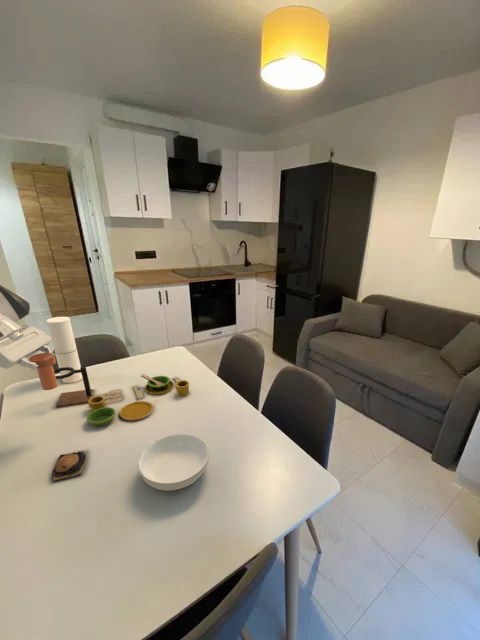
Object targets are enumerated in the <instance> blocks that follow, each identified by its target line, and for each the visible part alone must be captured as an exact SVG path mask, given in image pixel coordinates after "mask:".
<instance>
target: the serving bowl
mask: <svg viewBox="0 0 480 640" xmlns="http://www.w3.org/2000/svg"><path fill="white" fill-rule="evenodd" d="M209 460H210V449H209V445H208V444H207V443H206V442H205V440H203V438H200V437H199V436H196V435H193V434H190V433H175V434H174V433H173V434H170V435H166V436H165V435H164V436H163V437H161V438H158V439H156V440H155V441H153V442H151V443H150V444H148V445H147V446H146V447H145V448H144V449H143V451H142V452H141V454H140V455H139V457H138V462H137V468H138V471H139V474H140V476H141V478H142V479H143V481H144V482H145V483H146V484H147V485H148V486H150V487H151V488H153V489H156V490H159V491H167V492H168V491H169V492H170V491H177V490H181V489H184V488H186V487H188V486H190V485H192V484H193V483H195V482H196V481H197V480H198V479H200V477H201V476H202V475H203V474H204V472H205V471H206V468H207V466H208V463H209Z"/></svg>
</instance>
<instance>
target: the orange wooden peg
mask: <svg viewBox="0 0 480 640" xmlns="http://www.w3.org/2000/svg"><path fill="white" fill-rule="evenodd" d="M53 353H54V352H52V353H45V352H42V353H37V354H36V353H35V354H33V355H31V356H29V357H28V361H30V362H32V363H34V362H36V363H37V364H39V367H38V368H37V369H36V371H37V375H38V379H39V383H40V385H41V389H42V390H43V391H51V390H54V389H57V388H58V386H59V385H58V381H57V379H56V377H55V376H56V373H54V370H55V369H54V366H53V365H55V364H56V363H57V359H56V355H54V354H55V353H54V354H53Z"/></svg>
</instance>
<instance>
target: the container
mask: <svg viewBox="0 0 480 640" xmlns="http://www.w3.org/2000/svg"><path fill="white" fill-rule="evenodd" d="M46 324H47V328H48V332H49V336H50V337H51V338H52V341H51V343H52V347H53V351H54V354H55V359H56V363H57V366H58V368H63V367H71V368H73V369H74V370H79V369H80V367H82V366H81V361H80V357H79V353H78V349H77V344H76V340H75V335H74V331H73V327H72V322H71V318H70V317H69V316H54V317H50V318H47V319H46ZM69 372H70V371H67V370H65V371H60V372H59V373H60V375H65V374H68V373H69ZM81 380H83V378H82V374H81V373H74V374H73V375H71V376H69V377H67V378H63V379H61V382H63V383H64V384H72V383H76V382H79V381H81Z"/></svg>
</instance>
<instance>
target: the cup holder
mask: <svg viewBox="0 0 480 640" xmlns="http://www.w3.org/2000/svg"><path fill="white" fill-rule="evenodd" d="M65 370H67V371H70V372H69V373H68V374H65V375H61V374H60V375H55V377H56V380H62V379H63V378H67V377H69V376H71V375H73V374H74V373H81V374H82V382H83V387H84V389H82V390H75V391H67V392H61V393H60V395H59V398H58V400H57V402H56V404H55V407H56V408H63V407H69V406H76V405H83V404H89V403H88V400H89V399H90V398H91V397H93V393H94V389H93V388H91V384H90V380H89V375H88V372H87V367H86V366H85V365H84V366H81V367H80V369H79V370H74V369H73V368H71V367H63V368H59V367H58V368H56V369H54V373H55V374H57V373H60V371H65Z"/></svg>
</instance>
